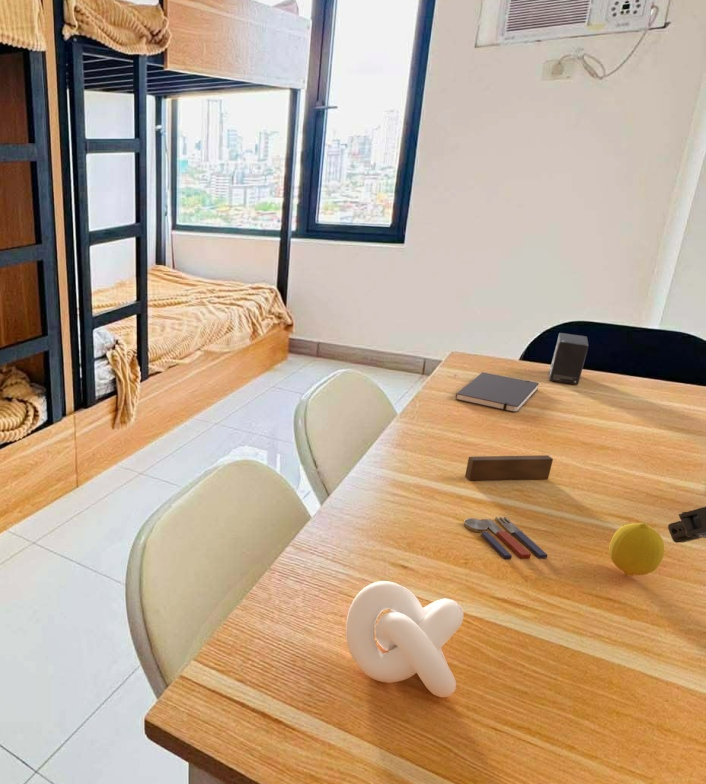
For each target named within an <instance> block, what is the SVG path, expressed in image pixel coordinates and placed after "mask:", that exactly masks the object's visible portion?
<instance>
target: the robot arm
mask: <svg viewBox="0 0 706 784" xmlns="http://www.w3.org/2000/svg"><path fill="white" fill-rule="evenodd" d="M678 518H679V519H680V520H678V521H674V522H671V523H669V524H668V525H667V529H668V532H669V534H670V537H671V540H672V542H674V543H676V544H683V543H684V544H685V543H688V542H692V541H695V540H699V539H706V506H703V507H698V508H695V509H692V510H689V511H682V512H681V513H679V514H678Z"/></svg>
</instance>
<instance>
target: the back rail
mask: <svg viewBox="0 0 706 784" xmlns="http://www.w3.org/2000/svg"><path fill="white" fill-rule="evenodd" d="M553 461H554V458H552V457H551V456H550V455H547V454H545V455H543V454H542V455H498V456H497V455H488V456H487V455H486V456H485V455H484V456H481V455H480V456H477V455H476V456H468V459H467V465H466V469H465V475H464V478H465V479H467V480H468V481H517V480H518V481H520V480H524V481H526V480H549V477H550V473H551V469H552V464H553Z"/></svg>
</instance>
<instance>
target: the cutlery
mask: <svg viewBox="0 0 706 784" xmlns="http://www.w3.org/2000/svg"><path fill="white" fill-rule="evenodd" d="M494 520H495V521H496V522H497V523H498V524H499V525H500V526H501V527H502V528H503V529H504V530H503V529H502V528H501V527H500V526H499V525H498V524H497V523H496V522H495V521H493V519H491V518H483V519H481V518H480V519H479V518H473V517H467V518H466V519H464V521H463V526H464V528H465V529H467V530H468V531H471V532H474V533H480V536H481V537H482V538H483V540H485V542H487V543H488V545H490V546H491V547H492V548H493V550H494V551H496V553H498V555H500V556H501V557H502V558H503V560H511V559H512V557H513V555H512V554H511V553H510V552H509V551H508V550H507V549H506V548H505V547H504V546H503V545H502V544H501V543H500V542H499V541H498V540H497V539H495V537H494V536H492V535H491V534H490V533H489V531H490V532H491V533H492V534H493V535H495V536H496V537H497V538H498V539H500V541H501V542H503V544H504V545H506V546H507V547H508V548H509V549H510V550H511V552H513V553H514V554H515V555H516V556H517V557H518V558H519V559H520V560H521V559H523V560H524V559H528V560H529V559H531V557H532V554H533V555H535V557H536V558H538V559H548V556H549V554H548V553H547V552H546V551H544V550H543V549H542V548H541V547H540V546H538V544H536V543H535V542H534V541H533V540H532V538H530V537H529V536H528V535H526V534H525V533H524V532H523V531H522V530H521V529H520V528H519V527H518V526H517V525H516V524H515V523H513V521H511V520H509V518H508V517H506V516H503V517H502V516H499V517H497V516H495V517H494ZM488 530H489V531H488ZM513 536H514V537H515V538H516V539H517V540H518V541H519V542H518V541H517V540H516V539H515V538H514V537H513ZM521 543H522V545H521ZM524 546H525V547H526V548H525V547H524ZM527 549H528V550H529V551H530V552H531V553H532V554H531V553H530V552H529V551H528V550H527Z"/></svg>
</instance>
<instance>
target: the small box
mask: <svg viewBox="0 0 706 784" xmlns="http://www.w3.org/2000/svg"><path fill="white" fill-rule="evenodd" d="M588 350H589V341H588V336H585V335H578V334H570V333H565V332H559V333H558V336H557V341H556V345H555V349H554V352H553V356H552V360H551V363H550V367H549V371H548V381H549V382H556V383H563V384H571V385H579V382H580V379H581V376H582V372H583V368H584V365H585V361H586V358H587V354H588Z"/></svg>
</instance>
